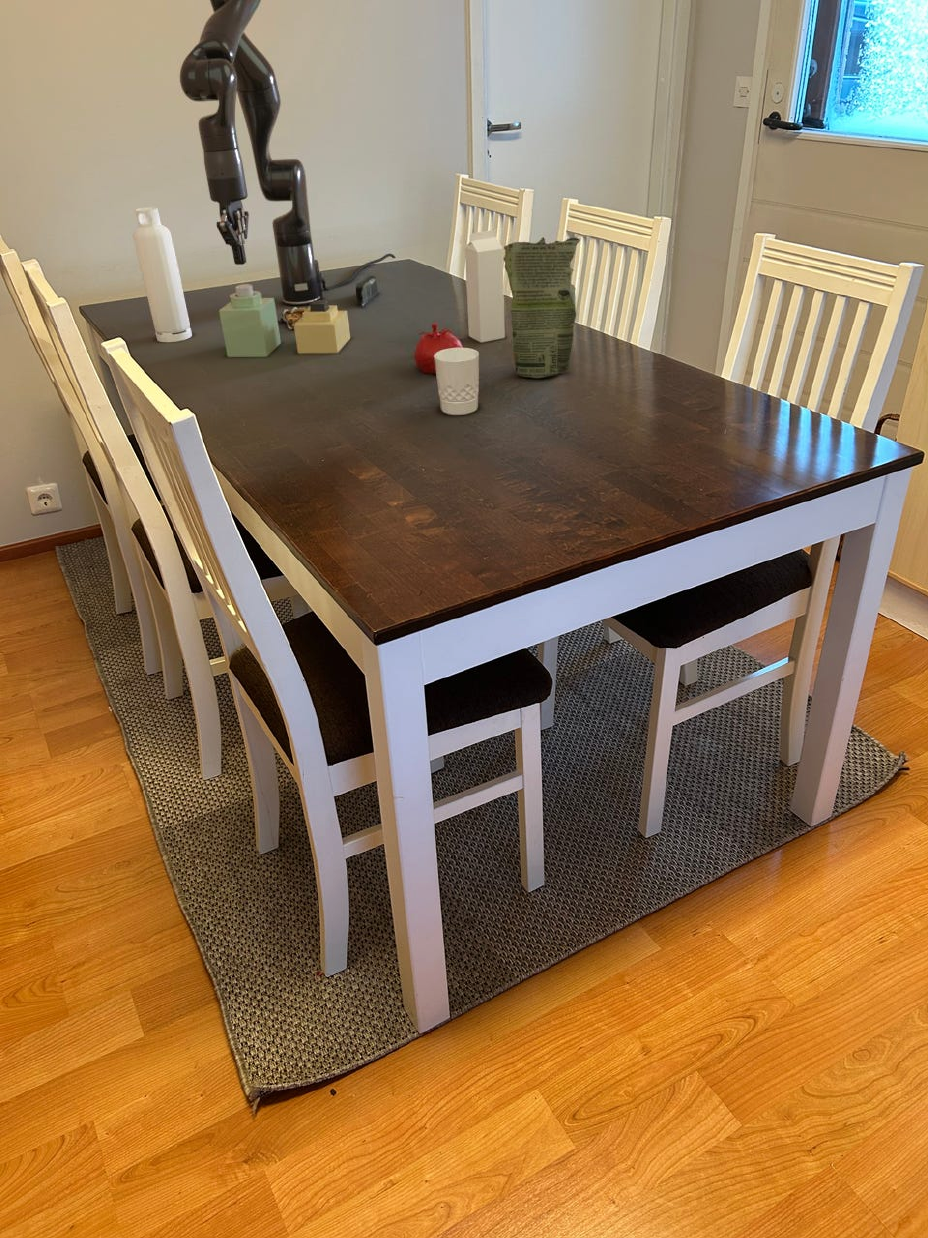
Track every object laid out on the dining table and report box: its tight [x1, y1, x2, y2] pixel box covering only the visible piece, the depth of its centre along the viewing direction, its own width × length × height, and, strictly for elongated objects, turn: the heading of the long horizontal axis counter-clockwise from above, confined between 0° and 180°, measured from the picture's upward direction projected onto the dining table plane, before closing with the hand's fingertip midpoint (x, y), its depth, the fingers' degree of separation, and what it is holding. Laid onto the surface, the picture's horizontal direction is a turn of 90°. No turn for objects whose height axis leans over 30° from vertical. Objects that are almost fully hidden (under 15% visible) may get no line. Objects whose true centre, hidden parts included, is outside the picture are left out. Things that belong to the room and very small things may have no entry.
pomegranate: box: [413, 323, 464, 375], centre depth 186 cm, size 10×10×9 cm
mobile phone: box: [355, 275, 378, 308], centre depth 238 cm, size 5×3×15 cm
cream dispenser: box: [293, 305, 351, 354], centre depth 205 cm, size 11×9×8 cm
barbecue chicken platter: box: [278, 306, 307, 330], centre depth 222 cm, size 7×12×4 cm, turn 29°
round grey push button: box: [235, 283, 254, 297], centre depth 200 cm, size 4×4×2 cm
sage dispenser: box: [218, 290, 282, 358], centre depth 204 cm, size 10×9×12 cm
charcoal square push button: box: [309, 299, 330, 312], centre depth 202 cm, size 3×3×2 cm
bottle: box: [132, 206, 193, 343], centre depth 211 cm, size 8×8×28 cm
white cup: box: [434, 347, 480, 416], centre depth 167 cm, size 8×8×10 cm
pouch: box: [503, 236, 581, 379], centre depth 178 cm, size 11×12×25 cm
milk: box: [464, 229, 505, 344], centre depth 200 cm, size 6×6×22 cm
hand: (240, 263), depth 197 cm, fingers closed
